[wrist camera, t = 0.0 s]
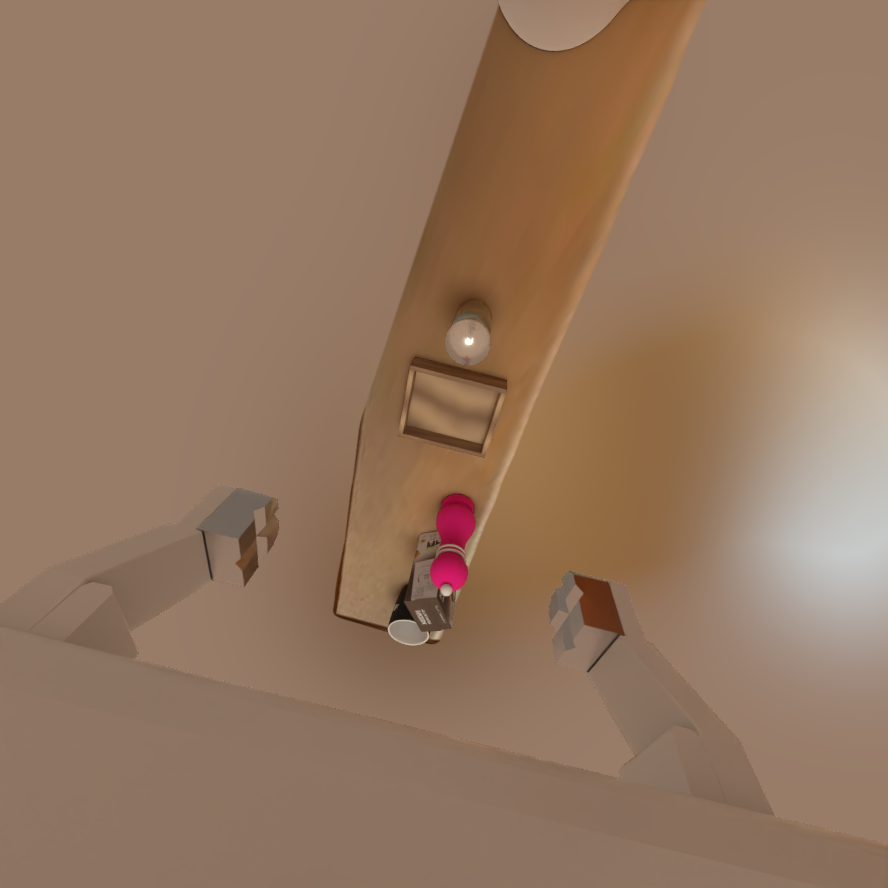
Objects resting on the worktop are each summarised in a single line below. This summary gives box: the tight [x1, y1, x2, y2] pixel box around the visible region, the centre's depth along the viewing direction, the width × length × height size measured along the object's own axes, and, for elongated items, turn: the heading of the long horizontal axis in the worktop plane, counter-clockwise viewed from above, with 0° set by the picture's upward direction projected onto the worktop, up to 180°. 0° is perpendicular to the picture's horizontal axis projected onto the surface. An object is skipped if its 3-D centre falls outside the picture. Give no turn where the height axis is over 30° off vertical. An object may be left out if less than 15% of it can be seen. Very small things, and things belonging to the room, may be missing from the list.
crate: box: [398, 357, 507, 458], centre depth 59 cm, size 12×15×4 cm
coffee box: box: [404, 531, 456, 632], centre depth 71 cm, size 9×6×16 cm
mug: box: [388, 585, 430, 645], centre depth 83 cm, size 12×9×10 cm
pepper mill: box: [430, 494, 476, 596], centre depth 63 cm, size 7×7×20 cm
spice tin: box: [445, 300, 491, 365], centre depth 48 cm, size 5×5×13 cm
